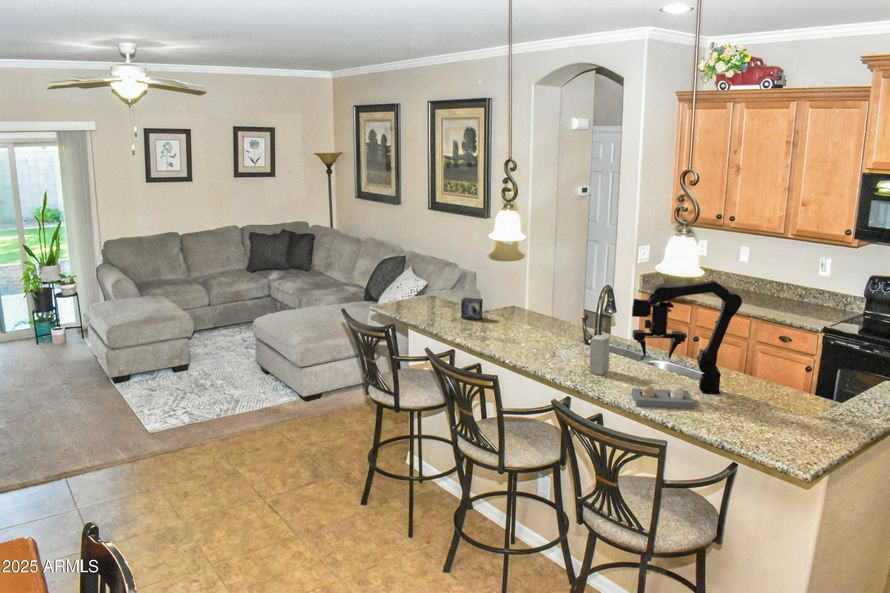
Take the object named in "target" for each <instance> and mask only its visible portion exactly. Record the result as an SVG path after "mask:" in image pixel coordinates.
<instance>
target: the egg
mask: <svg viewBox="0 0 890 593" xmlns="http://www.w3.org/2000/svg"><path fill="white" fill-rule="evenodd" d="M670 390H671V395H670V398H674V399H683V391H684V390H683V389H682V387H679V386H674V387H673V388H672V389H670Z"/></svg>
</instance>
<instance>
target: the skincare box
mask: <svg viewBox="0 0 890 593" xmlns="http://www.w3.org/2000/svg"><path fill="white" fill-rule="evenodd" d="M610 338H611V337H610V336H609V335H604V334H603V335H602V334H596V335H593V337H592V338H590V345H589V347H590V348H589V370H588V371H589V374H595V375H599V376H603V375H604V374H605V373H607V372H608V371H609V367H610V366H609V364H610V363H609V362H610Z"/></svg>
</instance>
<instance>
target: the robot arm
mask: <svg viewBox="0 0 890 593" xmlns="http://www.w3.org/2000/svg"><path fill="white" fill-rule="evenodd" d="M707 293H708V294H709V293H710V294H711V293H713V294H714V295H715V296H716V297H718V298H719V299H720V300H721V303H720V304H721V305H720V312H719V316H718V318H717V321H716V323H715V326H714V328H713V331H712V333H711V335H710V338H709V341H708V344H707V346H706V347H705V348H704V350H703V349H701V348H700V349H699V351H698V352H699V353H698V356H696V362H697V365H698V368H699V370H700V372H702V373H701V374H700V375H701V376H700V377H699V382H698V389H699V390H700V391H701V393H702V394H715V395H720V394H721V391H720V386H721V385H720V384H721V376H722V374H721V372H720V370H719V368H718V366H717V360H718V352H719V350H720V347H721V346H722V342H723V339H724V337H725V335H726V332H727V330H728V328H729V324H730V323H731V321H732V319H733V317H734V316H735V315H736V314H737V312H738V311H739V310H740V308H741V307H742V305H743V304H742V303H743V300H742V297H741V296H740V295H739V293H738V292H736V291H735V290H729V289H728V288H726V287H725V286H723V285H721V284H720V283H718V281H717V280H715V279H713V280H709V281H701V282H693V283H692V282H691V283H686V284H685V283H684V284H679V285H678V284H677V285H676V284H675V285H674V284H667V283H664V284H663V283H662V284H661V283H659V284H657V285H655V287H654V288H653V291H652V293H651V295H650V296H648V298H647V299H639V298H633V302H632V308H631V309H632V310H631V316H632V317H633V318H635V317H637V318H648V317H649V316H651V320H650V319H644V329H648V330H649V332H645V331H644V329H633V331H632V338H633V341H636V342H637V343H639V345H640V347H641V350H642V354H643V357H644V358H646V355H647V353H646V352H647V351H646V350H647V349H646V348H647V347H646V340H645V339H647V338H648V339H649V338H650V339H670V344H669V350H668V359H671V357H672V355H673V353H674V351H675V350H676V348H677V347H678V345H681V344H682V343H685V342H686V334H684V332H683V331H682V330H681V331H680V330H672V331H671V332H670V333H667V329H668V316H669V308H670V309H671V308H672V309H673V308H674V307H675V306H674V304H673V302H671V300H672V301H673V300H675V299H676V298H680V297H685V296H686V297H687V296H693V295H700V294H701V295H702V294H707ZM651 312H652V313H651Z"/></svg>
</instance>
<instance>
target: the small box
mask: <svg viewBox="0 0 890 593" xmlns="http://www.w3.org/2000/svg"><path fill="white" fill-rule="evenodd" d="M460 306H461V307H460V308H461V309H460V310H461V311H460V312H461V313H460V317H461V318H465V319H464V320H471V319H475V320H474V321H480V320H482V319H483V298H473V297H463V298H462V299H461V305H460ZM461 318H460V319H461Z"/></svg>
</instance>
